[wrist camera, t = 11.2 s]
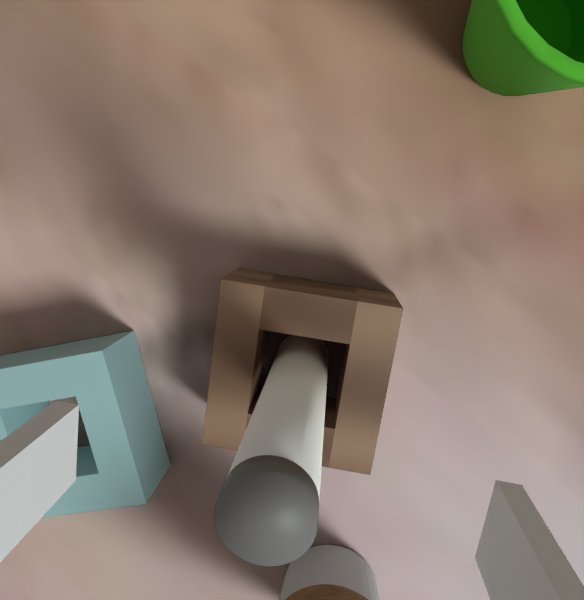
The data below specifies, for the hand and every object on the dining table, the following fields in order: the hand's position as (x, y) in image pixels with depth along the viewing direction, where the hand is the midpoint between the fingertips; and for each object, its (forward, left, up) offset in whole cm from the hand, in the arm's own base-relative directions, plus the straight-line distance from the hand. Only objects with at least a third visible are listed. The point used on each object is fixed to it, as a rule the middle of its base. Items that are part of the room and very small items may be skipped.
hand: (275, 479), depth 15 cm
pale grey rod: (0, 0, -14) cm, 14 cm away
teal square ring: (+6, -13, -14) cm, 20 cm away
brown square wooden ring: (0, 0, -14) cm, 14 cm away
